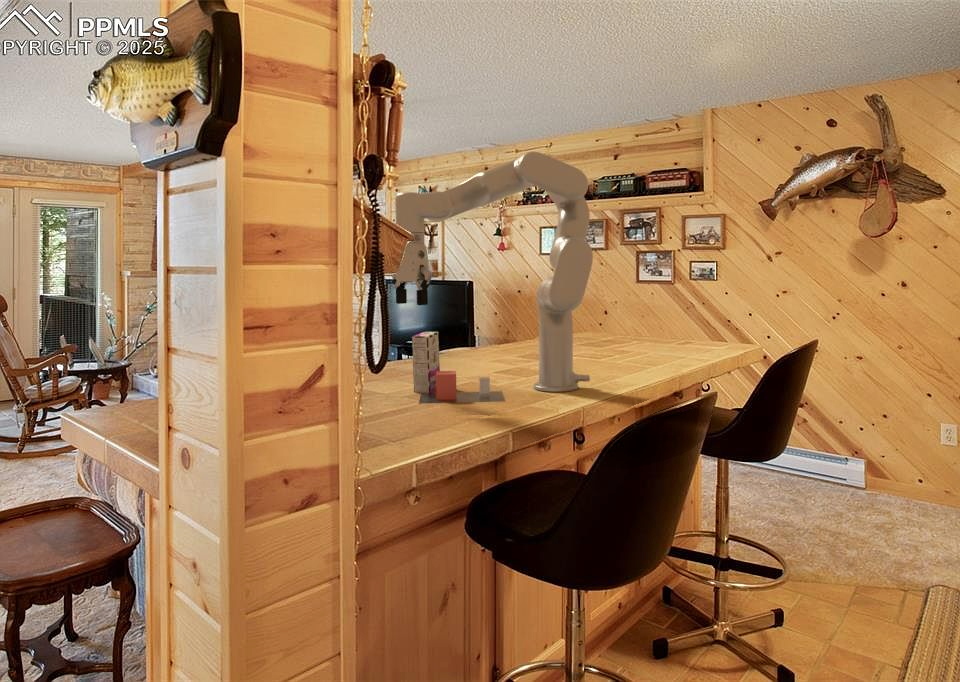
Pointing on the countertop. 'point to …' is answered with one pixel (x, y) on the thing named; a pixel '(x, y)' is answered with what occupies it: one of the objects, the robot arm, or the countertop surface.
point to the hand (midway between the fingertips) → (411, 304)
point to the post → (468, 395)
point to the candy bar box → (425, 361)
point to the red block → (446, 385)
